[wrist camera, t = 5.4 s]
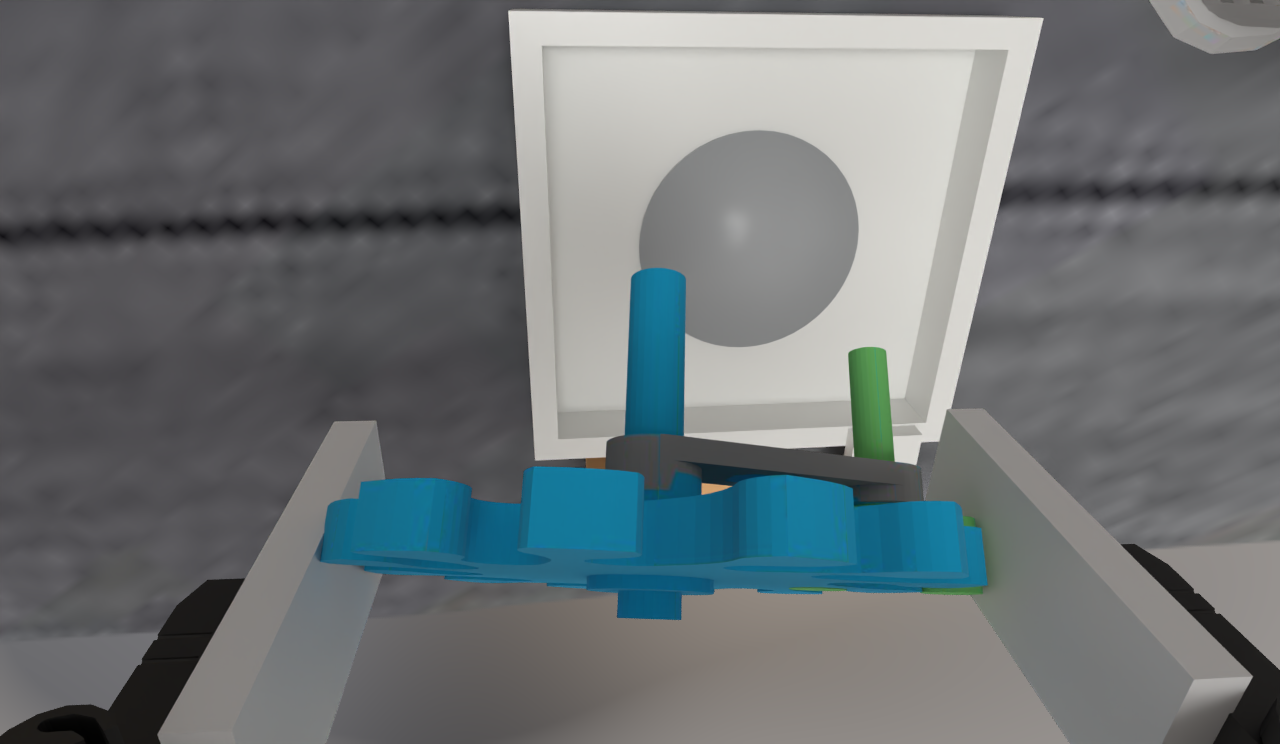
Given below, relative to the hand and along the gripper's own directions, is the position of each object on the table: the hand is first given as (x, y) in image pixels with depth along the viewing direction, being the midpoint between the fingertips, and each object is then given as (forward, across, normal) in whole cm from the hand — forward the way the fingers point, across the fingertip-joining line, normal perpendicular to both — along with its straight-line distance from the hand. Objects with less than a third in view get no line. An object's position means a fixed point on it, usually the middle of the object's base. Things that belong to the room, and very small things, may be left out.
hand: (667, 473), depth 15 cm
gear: (+1, 0, 0) cm, 1 cm away
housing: (+17, +5, -3) cm, 18 cm away
